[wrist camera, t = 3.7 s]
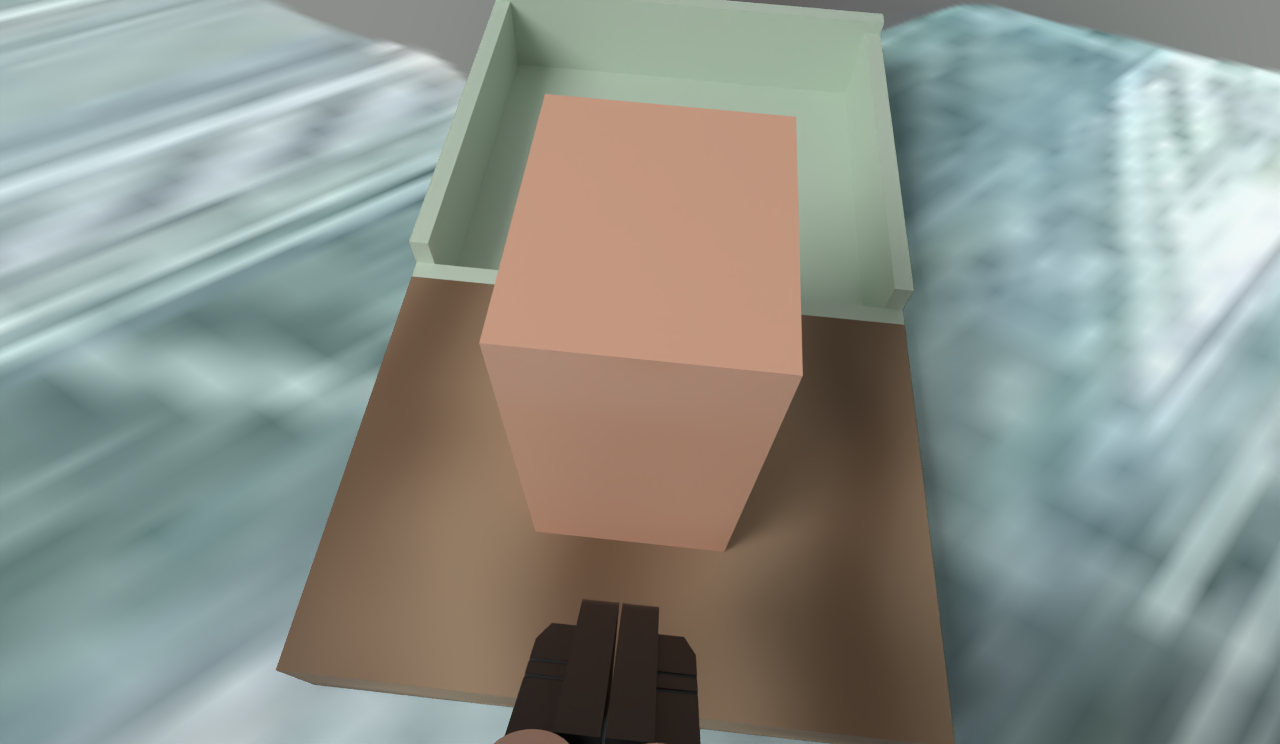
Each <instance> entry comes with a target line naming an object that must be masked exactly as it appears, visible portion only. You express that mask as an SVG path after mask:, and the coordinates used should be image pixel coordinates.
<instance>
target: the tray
mask: <svg viewBox="0 0 1280 744" xmlns="http://www.w3.org/2000/svg"><path fill="white" fill-rule="evenodd" d="M883 25H884V18H883V14H875V13H863V12H851V11H840V10H828V9H817V8H806V7H795V6H783V5H772V4H760V3H749V2H737V1H726V0H496V2H495V5H494V7H493V10H492V13H491V16H490V18H489V21H488V24H487V27H486V30H485V32H484V35H483V38H482V41H481V43H480V46H479V49H478V52H477V55H476V57H475V60H474V63H473V66H472V69H471V72H470V74H469V77H468V80H467V82H466V85H465V88H464V91H463V93H462V96H461V99H460V102H459V105H458V107H457V110H456V113H455V116H454V118H453V121H452V124H451V127H450V130H449V132H448V135H447V138H446V141H445V143H444V146H443V149H442V152H441V155H440V157H439V160H438V163H437V166H436V168H435V171H434V174H433V177H432V180H431V182H430V185H429V188H428V191H427V193H426V196H425V199H424V202H423V205H422V207H421V210H420V213H419V216H418V218H417V221H416V224H415V227H414V230H413V232H412V235H411V238H410V241H409V243H410V245H411V248H412V251H413V253H414V256H415V259H416V261H417V263H416V266H415V269H414V272H413V275H412V276H414V277H424V278H434V279H444V280H454V281H465V282H475V283H485V284H495V281H496V278H497V274H498V270H499V266H500V262H501V259H502V255H503V251H504V247H505V243H506V240H507V236H508V232H509V228H510V225H511V221H512V217H513V213H514V209H515V206H516V202H517V198H518V194H519V191H520V187H521V183H522V179H523V175H524V172H525V168H526V164H527V160H528V156H529V153H530V149H531V145H532V141H533V138H534V134H535V130H536V126H537V122H538V119H539V115H540V111H541V107H542V103H543V100H544V96H545V94H552V95H563V96H574V97H585V98H596V99H607V100H618V101H629V102H640V103H651V104H662V105H673V106H684V107H695V108H705V109H716V110H727V111H738V112H749V113H760V114H771V115H782V116H793V117H796V132H797V171H798V210H799V249H800V288H801V315H810V316H820V317H831V318H841V319H851V320H861V321H871V322H881V323H892V324H902V325H905V324H904V315H903V309H904V307H905V305H906V304H907V302H908V300H909V299H910V297H911V295H912V293H913V292H914V286H913V279H912V271H911V263H910V256H909V248H908V241H907V233H906V226H905V218H904V211H903V203H902V196H901V188H900V181H899V173H898V165H897V158H896V150H895V143H894V135H893V128H892V120H891V113H890V105H889V98H888V90H887V82H886V75H885V67H884V60H883V52H882V45H881V37H880V33H881V30H882V27H883Z"/></svg>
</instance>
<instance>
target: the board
mask: <svg viewBox="0 0 1280 744" xmlns="http://www.w3.org/2000/svg"><path fill="white" fill-rule="evenodd" d="M494 285H495V284H485V283H475V282H465V281H454V280H444V279H434V278H424V277H414V276H412V277H411V280H410V283H409V286H408V289H407V292H406V295H405V298H404V301H403V303H402V306H401V309H400V312H399V315H398V318H397V321H396V324H395V327H394V330H393V332H392V335H391V338H390V341H389V344H388V347H387V350H386V353H385V356H384V359H383V361H382V364H381V367H380V370H379V373H378V376H377V379H376V382H375V385H374V387H373V390H372V393H371V396H370V399H369V402H368V405H367V408H366V411H365V414H364V416H363V419H362V422H361V425H360V428H359V431H358V434H357V437H356V440H355V442H354V445H353V448H352V451H351V454H350V457H349V460H348V463H347V466H346V469H345V471H344V474H343V477H342V480H341V483H340V486H339V489H338V492H337V495H336V497H335V500H334V503H333V506H332V509H331V512H330V515H329V518H328V521H327V524H326V526H325V529H324V532H323V535H322V538H321V541H320V544H319V547H318V550H317V552H316V555H315V558H314V561H313V564H312V567H311V570H310V573H309V576H308V579H307V581H306V584H305V587H304V590H303V593H302V596H301V599H300V602H299V605H298V608H297V610H296V613H295V616H294V619H293V622H292V625H291V628H290V631H289V634H288V636H287V639H286V642H285V645H284V648H283V651H282V654H281V657H280V660H279V663H278V665H277V668H276V670H277V671H279V672H282V673H285V674H287V675H290V676H293V677H295V678H298V679H301V680H303V681H306V682H309V683H311V684H314V685H322V686H331V687H339V688H348V689H357V690H366V691H375V692H383V693H392V694H401V695H410V696H418V697H427V698H436V699H445V700H454V701H462V702H471V703H480V704H489V705H497V706H506V707H514V705H515V702H516V699H517V696H518V693H519V690H520V686H521V683H522V680H523V677H524V675H525V671H526V668H527V664H528V661H529V660H530V655H531V652H532V649H533V646H534V642H535V639H536V638H537V637H538V636H539V635H540V634H541V633H542V632H543V631H544V630H545V629H546V628H547V627H548V626H549V625H550V624H551V623H559V624H568V625H576V624H577V620H578V616H579V611H580V607H581V603H582V599H589V600H598V601H607V602H617V603H619V614H618V625H617V636H616V647H615V657H616V649H617V642H618V634H619V626H620V618H621V611H622V603H628V604H637V605H646V606H656V607H659V627H658V634H663V635H672V636H681V637H685V639H686V640H687V642H688V643H689V645H690V647H691V648H692V650H693V651H694V653H695V654H696V664H697V685H698V706H699V726H700V729H708V730H717V731H726V732H734V733H743V734H752V735H761V736H770V737H778V738H787V739H796V740H805V741H813V742H822V743H831V744H955V741H954V732H953V724H952V716H951V707H950V699H949V691H948V682H947V674H946V666H945V657H944V649H943V641H942V632H941V624H940V616H939V607H938V599H937V591H936V582H935V574H934V566H933V557H932V549H931V540H930V532H929V524H928V515H927V507H926V499H925V490H924V482H923V474H922V465H921V457H920V449H919V440H918V432H917V424H916V415H915V407H914V399H913V390H912V382H911V374H910V365H909V357H908V349H907V340H906V332H905V325H902V324H892V323H881V322H871V321H861V320H851V319H841V318H831V317H820V316H810V315H801V327H802V366H803V376H802V378H801V381H800V383H799V385H798V387H797V390H796V392H795V394H794V396H793V399H792V401H791V403H790V405H789V408H788V410H787V412H786V414H785V417H784V419H783V421H782V423H781V426H780V428H779V430H778V432H777V434H776V437H775V439H774V441H773V443H772V446H771V448H770V450H769V452H768V455H767V457H766V459H765V461H764V464H763V466H762V468H761V470H760V473H759V475H758V477H757V479H756V482H755V484H754V486H753V488H752V491H751V493H750V495H749V497H748V500H747V502H746V504H745V506H744V508H743V511H742V513H741V515H740V517H739V520H738V522H737V524H736V526H735V529H734V531H733V533H732V535H731V538H730V540H729V542H728V544H727V547H726V549H725V551H724V552H721V551H712V550H702V549H693V548H684V547H675V546H665V545H656V544H647V543H637V542H628V541H619V540H609V539H600V538H591V537H581V536H572V535H563V534H553V533H544V532H536V531H535V528H534V524H533V521H532V518H531V514H530V511H529V508H528V504H527V501H526V498H525V494H524V491H523V488H522V484H521V481H520V478H519V474H518V471H517V468H516V464H515V461H514V458H513V454H512V451H511V448H510V444H509V441H508V438H507V434H506V431H505V428H504V424H503V421H502V418H501V414H500V411H499V408H498V404H497V401H496V398H495V394H494V391H493V388H492V384H491V381H490V378H489V374H488V371H487V367H486V364H485V361H484V357H483V354H482V351H481V347H480V344H479V342H480V338H481V334H482V331H483V327H484V323H485V319H486V315H487V312H488V308H489V304H490V300H491V296H492V293H493V289H494ZM614 665H615V658H614ZM613 673H614V668H613ZM612 680H613V679H612Z"/></svg>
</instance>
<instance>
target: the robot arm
mask: <svg viewBox="0 0 1280 744" xmlns="http://www.w3.org/2000/svg"><path fill="white" fill-rule="evenodd" d="M618 614H619V603H617V602H607V601H598V600H589V599H582V603H581V607H580V611H579V616H578V620H577V624H576V625H568V624H559V623H551V624H550V625H549V626H548V627H547V628H546V629H545V630H544V631H543V632H542V633H541V634H540V635H539V636H538V637H537V638H536V639H535V642H534V646H533V649H532V652H531V655H530V660H529V661H528V664H527V668H526V671H525V675H524V677H523V680H522V683H521V686H520V690H519V693H518V696H517V699H516V702H515V705H514V708H513V712H512V715H511V718H510V721H509V724H508V727H507V730H506V734H505V736H504V737H502V738H500V739H499V740H498V741H496V742H495V743H494V744H700V726H699V706H698V685H697V664H696V654H695V653H694V651H693V650H692V648H691V647H690V645H689V643H688V642H687V640H686V639H685V637H681V636H672V635H663V634H658V627H659V607H656V606H646V605H637V604H628V603H622V611H621V618H620V626H619V634H618V642H617V649H616V657H615V647H616V636H617V625H618ZM614 658H615V665H614ZM613 668H614V673H613ZM612 679H613V680H612Z"/></svg>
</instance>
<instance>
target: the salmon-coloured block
mask: <svg viewBox="0 0 1280 744" xmlns="http://www.w3.org/2000/svg"><path fill="white" fill-rule="evenodd" d="M479 344H480V347H481V351H482V354H483V357H484V361H485V364H486V367H487V371H488V374H489V378H490V381H491V384H492V388H493V391H494V394H495V398H496V401H497V404H498V408H499V411H500V414H501V418H502V421H503V424H504V428H505V431H506V434H507V438H508V441H509V444H510V448H511V451H512V454H513V458H514V461H515V464H516V468H517V471H518V474H519V478H520V481H521V484H522V488H523V491H524V494H525V498H526V501H527V504H528V508H529V511H530V514H531V518H532V521H533V524H534V528H535V531H536V532H544V533H553V534H563V535H572V536H581V537H591V538H600V539H609V540H619V541H628V542H637V543H647V544H656V545H665V546H675V547H684V548H693V549H702V550H712V551H721V552H724V551H725V549H726V547H727V544H728V542H729V540H730V538H731V535H732V533H733V531H734V529H735V526H736V524H737V522H738V520H739V517H740V515H741V513H742V511H743V508H744V506H745V504H746V502H747V500H748V497H749V495H750V493H751V491H752V488H753V486H754V484H755V482H756V479H757V477H758V475H759V473H760V470H761V468H762V466H763V464H764V461H765V459H766V457H767V455H768V452H769V450H770V448H771V446H772V443H773V441H774V439H775V437H776V434H777V432H778V430H779V428H780V426H781V423H782V421H783V419H784V417H785V414H786V412H787V410H788V408H789V405H790V403H791V401H792V399H793V396H794V394H795V392H796V390H797V387H798V385H799V383H800V381H801V378H802V376H803V366H802V327H801V288H800V249H799V210H798V171H797V132H796V117H793V116H782V115H771V114H760V113H749V112H738V111H727V110H716V109H705V108H695V107H684V106H673V105H662V104H651V103H640V102H629V101H618V100H607V99H596V98H585V97H574V96H563V95H552V94H545V96H544V100H543V103H542V107H541V111H540V115H539V119H538V122H537V126H536V130H535V134H534V138H533V141H532V145H531V149H530V153H529V156H528V160H527V164H526V168H525V172H524V175H523V179H522V183H521V187H520V191H519V194H518V198H517V202H516V206H515V209H514V213H513V217H512V221H511V225H510V228H509V232H508V236H507V240H506V243H505V247H504V251H503V255H502V259H501V262H500V266H499V270H498V274H497V278H496V281H495V285H494V289H493V293H492V296H491V300H490V304H489V308H488V312H487V315H486V319H485V323H484V327H483V331H482V334H481V338H480V342H479Z"/></svg>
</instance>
